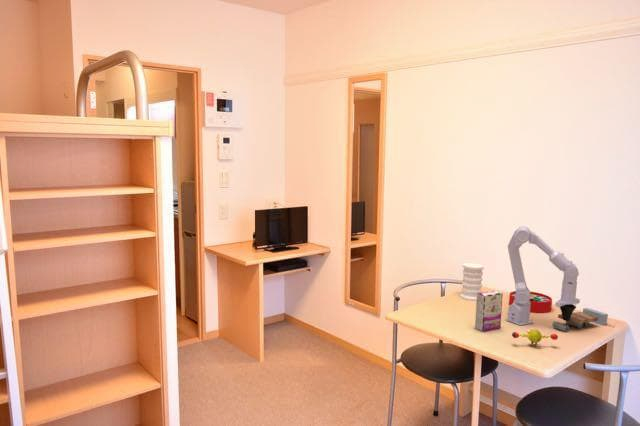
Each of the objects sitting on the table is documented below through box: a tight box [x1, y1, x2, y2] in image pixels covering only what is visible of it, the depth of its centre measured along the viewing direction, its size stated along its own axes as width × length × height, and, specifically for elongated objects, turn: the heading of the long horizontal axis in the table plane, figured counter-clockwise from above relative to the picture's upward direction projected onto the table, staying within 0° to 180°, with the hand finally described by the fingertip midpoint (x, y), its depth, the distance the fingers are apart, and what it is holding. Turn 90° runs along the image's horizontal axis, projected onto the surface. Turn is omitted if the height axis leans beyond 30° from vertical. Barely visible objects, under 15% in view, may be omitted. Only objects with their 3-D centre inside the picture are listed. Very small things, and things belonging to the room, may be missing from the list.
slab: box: [557, 311, 598, 324], centre depth 217 cm, size 16×9×2 cm, turn 118°
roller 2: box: [565, 321, 584, 330], centre depth 216 cm, size 3×6×3 cm, turn 29°
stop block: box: [582, 307, 609, 326], centre depth 224 cm, size 3×10×5 cm, turn 29°
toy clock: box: [508, 290, 553, 314], centre depth 243 cm, size 20×6×20 cm
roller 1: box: [551, 321, 570, 333], centre depth 211 cm, size 3×6×3 cm
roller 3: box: [582, 322, 591, 328], centre depth 219 cm, size 3×6×3 cm, turn 28°
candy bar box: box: [474, 289, 504, 333], centre depth 209 cm, size 11×5×16 cm, turn 117°
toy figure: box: [511, 328, 559, 347], centre depth 192 cm, size 18×6×7 cm, turn 88°
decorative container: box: [459, 262, 485, 302], centre depth 255 cm, size 12×12×18 cm
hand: (565, 320), depth 213 cm, fingers closed
